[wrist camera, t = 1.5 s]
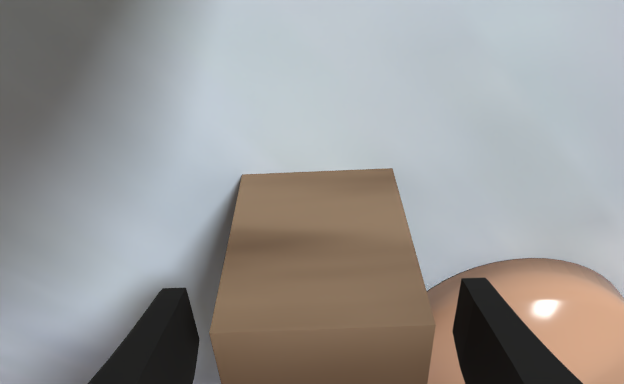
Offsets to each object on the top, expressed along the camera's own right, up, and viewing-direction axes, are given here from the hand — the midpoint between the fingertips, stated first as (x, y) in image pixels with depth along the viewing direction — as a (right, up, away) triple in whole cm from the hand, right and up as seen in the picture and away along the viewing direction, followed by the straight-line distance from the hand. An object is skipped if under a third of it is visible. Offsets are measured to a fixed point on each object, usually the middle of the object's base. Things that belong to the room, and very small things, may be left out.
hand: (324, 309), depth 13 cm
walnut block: (0, +2, +3) cm, 4 cm away
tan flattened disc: (+7, -3, +6) cm, 10 cm away
